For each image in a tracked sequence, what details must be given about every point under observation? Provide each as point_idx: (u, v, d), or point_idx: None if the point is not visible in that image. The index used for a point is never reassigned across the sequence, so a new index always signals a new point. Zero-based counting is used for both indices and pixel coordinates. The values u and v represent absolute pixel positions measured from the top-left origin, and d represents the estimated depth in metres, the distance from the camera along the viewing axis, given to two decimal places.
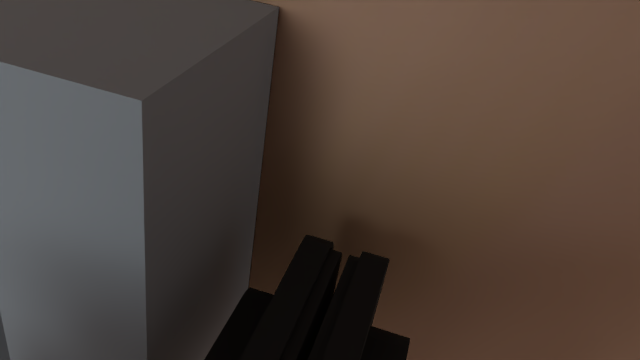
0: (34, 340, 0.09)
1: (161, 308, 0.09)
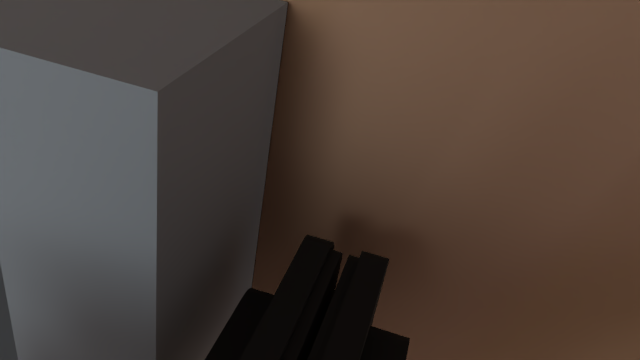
0: (41, 333, 0.09)
1: (169, 300, 0.09)
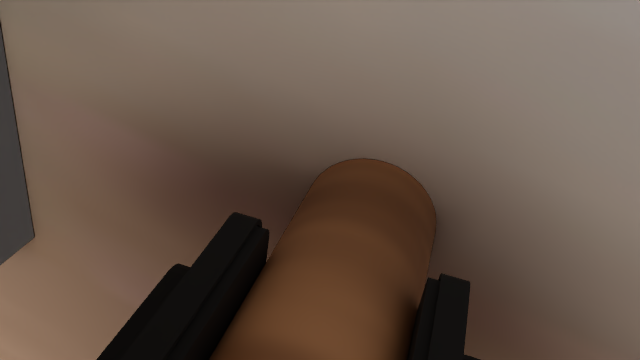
0: None
1: None
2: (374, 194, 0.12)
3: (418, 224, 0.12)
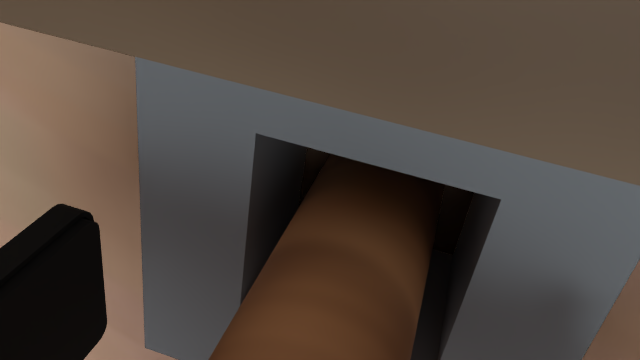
0: None
1: None
2: None
3: None
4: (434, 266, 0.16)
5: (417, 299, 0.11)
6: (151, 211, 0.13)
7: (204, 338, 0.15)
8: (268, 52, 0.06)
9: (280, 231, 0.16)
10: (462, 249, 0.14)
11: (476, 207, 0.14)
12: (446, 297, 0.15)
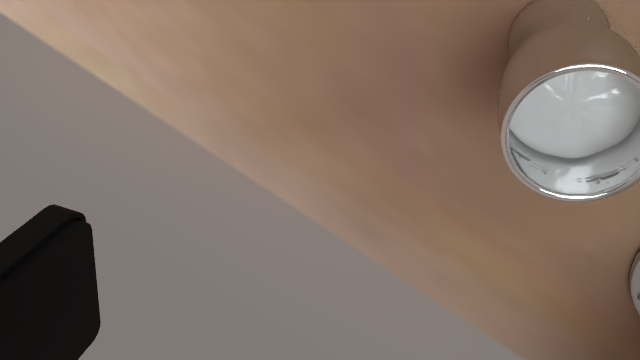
0: None
1: None
2: None
3: None
4: None
5: None
6: None
7: None
8: None
9: None
10: None
11: None
12: None
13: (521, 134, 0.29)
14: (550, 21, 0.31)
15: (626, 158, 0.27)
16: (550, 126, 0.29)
